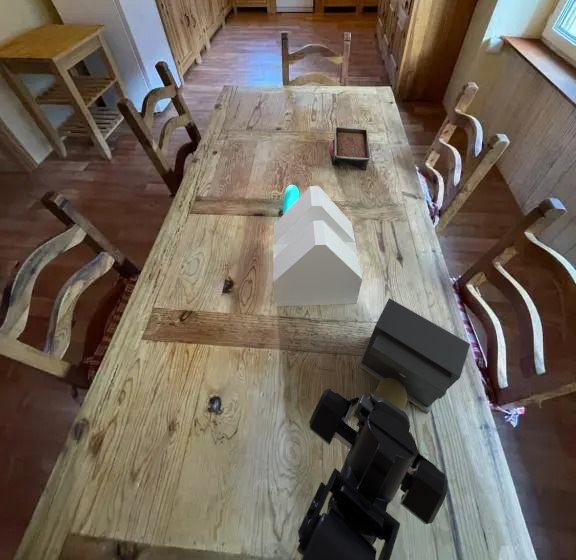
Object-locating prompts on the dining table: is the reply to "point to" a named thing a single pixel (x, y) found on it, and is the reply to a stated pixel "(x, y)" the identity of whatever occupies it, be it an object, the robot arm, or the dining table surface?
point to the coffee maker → (414, 354)
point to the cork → (392, 392)
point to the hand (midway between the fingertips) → (383, 418)
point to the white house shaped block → (315, 254)
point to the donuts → (290, 197)
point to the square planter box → (350, 147)
